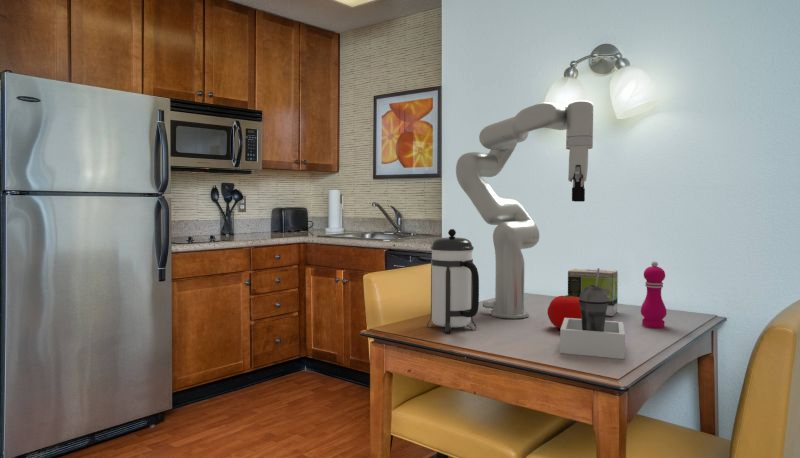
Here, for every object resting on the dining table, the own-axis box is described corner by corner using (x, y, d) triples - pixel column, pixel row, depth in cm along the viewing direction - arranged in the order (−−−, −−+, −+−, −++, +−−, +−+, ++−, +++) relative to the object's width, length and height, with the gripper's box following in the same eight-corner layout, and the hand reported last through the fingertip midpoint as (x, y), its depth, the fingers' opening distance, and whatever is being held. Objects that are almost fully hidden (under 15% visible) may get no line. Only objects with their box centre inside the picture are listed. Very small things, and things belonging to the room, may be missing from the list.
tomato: (540, 326, 165) (541, 292, 165) (573, 323, 170) (573, 290, 169) (564, 335, 155) (564, 298, 154) (598, 331, 159) (599, 296, 158)
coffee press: (419, 332, 158) (419, 229, 156) (434, 321, 173) (435, 227, 171) (477, 337, 152) (478, 230, 150) (488, 325, 167) (489, 228, 165)
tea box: (617, 312, 188) (618, 269, 188) (612, 317, 180) (613, 272, 179) (573, 307, 196) (574, 267, 196) (566, 312, 188) (567, 270, 187)
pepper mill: (669, 329, 162) (670, 262, 161) (643, 328, 164) (644, 262, 163) (662, 323, 170) (664, 260, 169) (637, 322, 171) (639, 259, 170)
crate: (560, 353, 136) (560, 329, 136) (564, 339, 150) (564, 317, 150) (624, 359, 131) (625, 334, 131) (622, 344, 145) (623, 322, 145)
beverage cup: (573, 342, 143) (574, 266, 142) (599, 341, 144) (601, 266, 143) (584, 349, 136) (586, 270, 135) (612, 348, 136) (614, 269, 135)
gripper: (568, 147, 170) (567, 201, 171) (564, 141, 154) (563, 201, 155) (593, 146, 167) (592, 201, 168) (592, 140, 151) (591, 201, 152)
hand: (578, 201), depth 161 cm, fingers open, 9 cm apart
